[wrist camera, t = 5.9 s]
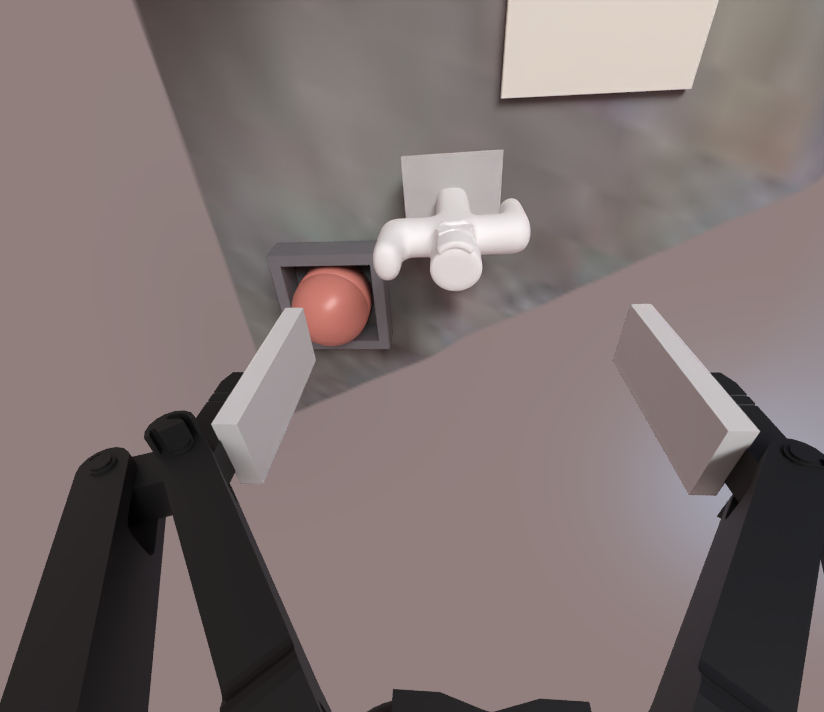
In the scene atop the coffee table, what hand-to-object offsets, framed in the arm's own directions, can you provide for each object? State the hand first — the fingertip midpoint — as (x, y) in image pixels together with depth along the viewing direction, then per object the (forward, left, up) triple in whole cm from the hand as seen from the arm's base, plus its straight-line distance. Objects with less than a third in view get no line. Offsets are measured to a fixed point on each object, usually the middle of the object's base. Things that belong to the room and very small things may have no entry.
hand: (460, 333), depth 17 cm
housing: (+9, -11, -21) cm, 25 cm away
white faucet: (0, 0, -21) cm, 21 cm away
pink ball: (+9, -11, -22) cm, 26 cm away
